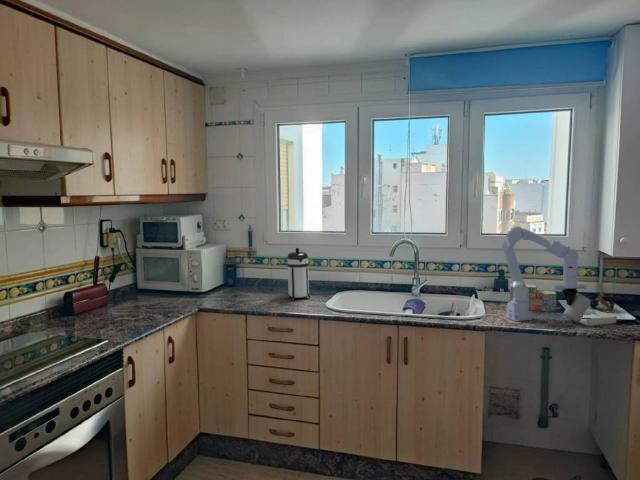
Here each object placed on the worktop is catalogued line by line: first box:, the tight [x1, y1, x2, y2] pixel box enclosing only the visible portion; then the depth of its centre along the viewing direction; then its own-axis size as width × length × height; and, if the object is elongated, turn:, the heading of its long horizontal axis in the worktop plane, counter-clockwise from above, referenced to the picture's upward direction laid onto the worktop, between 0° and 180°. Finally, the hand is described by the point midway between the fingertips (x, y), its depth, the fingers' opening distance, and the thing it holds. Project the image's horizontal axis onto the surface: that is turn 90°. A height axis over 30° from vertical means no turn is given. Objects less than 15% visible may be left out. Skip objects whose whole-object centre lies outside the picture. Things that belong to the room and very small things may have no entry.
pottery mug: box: [589, 295, 616, 312], centre depth 236 cm, size 12×10×8 cm
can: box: [563, 292, 591, 323], centre depth 216 cm, size 8×8×12 cm
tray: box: [567, 309, 617, 327], centre depth 219 cm, size 15×13×3 cm
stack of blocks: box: [509, 283, 557, 313], centre depth 241 cm, size 21×6×12 cm, turn 69°
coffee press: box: [286, 247, 311, 299], centre depth 278 cm, size 17×16×30 cm
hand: (569, 304), depth 215 cm, fingers closed
